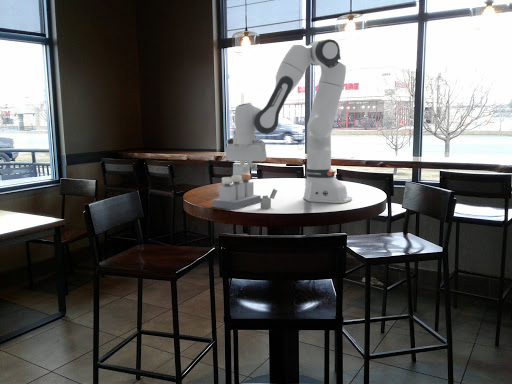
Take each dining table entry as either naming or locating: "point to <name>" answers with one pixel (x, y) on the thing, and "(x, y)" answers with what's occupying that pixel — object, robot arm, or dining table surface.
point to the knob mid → (236, 179)
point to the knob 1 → (226, 181)
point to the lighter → (268, 199)
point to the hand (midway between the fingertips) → (246, 170)
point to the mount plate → (236, 196)
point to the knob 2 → (245, 177)
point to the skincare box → (239, 169)
